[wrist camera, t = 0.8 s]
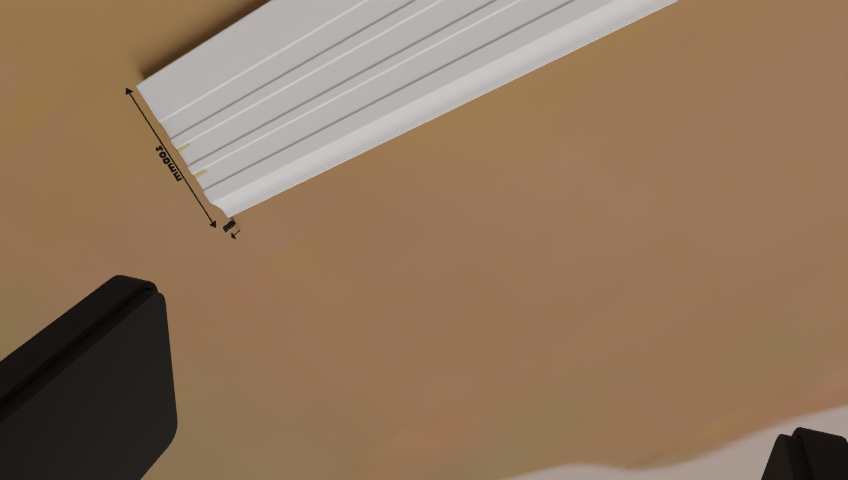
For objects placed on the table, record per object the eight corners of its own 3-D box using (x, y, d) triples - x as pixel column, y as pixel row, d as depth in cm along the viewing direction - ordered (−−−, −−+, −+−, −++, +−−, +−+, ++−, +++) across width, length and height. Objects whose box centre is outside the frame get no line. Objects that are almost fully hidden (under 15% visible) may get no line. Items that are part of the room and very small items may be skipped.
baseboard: (794, -20, 31) (702, -269, 28) (806, -11, 29) (705, -282, 26) (248, 233, 44) (150, 78, 41) (223, 255, 41) (118, 91, 39)
